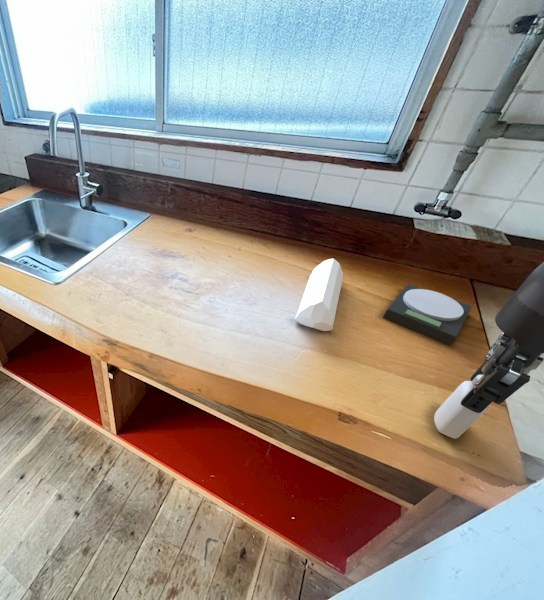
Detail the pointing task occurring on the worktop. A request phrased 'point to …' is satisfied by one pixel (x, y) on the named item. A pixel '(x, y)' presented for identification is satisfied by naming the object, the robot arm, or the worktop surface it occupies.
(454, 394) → the eye dropper bottle
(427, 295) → the kitchen scale
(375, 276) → the worktop surface
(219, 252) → the worktop surface
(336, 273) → the chamfered white bar
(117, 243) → the worktop surface
